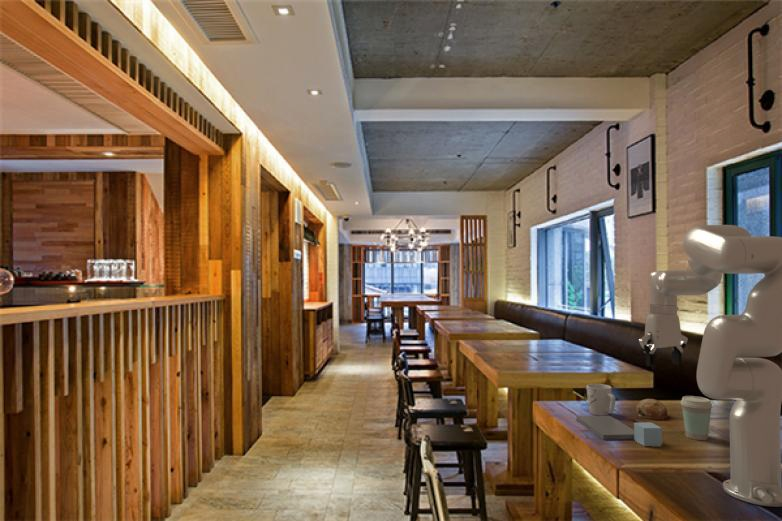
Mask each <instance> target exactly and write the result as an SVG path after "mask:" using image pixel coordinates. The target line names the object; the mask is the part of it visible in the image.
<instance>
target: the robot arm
mask: <svg viewBox="0 0 782 521" xmlns="http://www.w3.org/2000/svg"><path fill="white" fill-rule="evenodd" d="M682 244H683V250H684V252H685V253H686V255H687V263H688V265H689V268H690V269H689V270H688V269H687V270H686V269H684V270H683V269H678V270H676V269H673V270H672V269H671V270H670V269H669V270H654V271H651V272H650V273H649V275H648V276H649V279H648V281H649V282H648V284H649V314H647V316H646V320H645V325H644V326H645V327H644V336H642V337H640V338H639V339H638V342H639V345H640V348H641V349H642V350H643V353H644V354H645V365H646V367H647V366H648V367H651V368H655V367H656V354H655V352H656V350H657V349H658V348H659V349H661V348H671V349H672V351H671V364H673V365H675V366H682V365H683V364H682V354H683V353H684V349H685V348H686V346H687V343H688V340H689V339H688V337H687V336H685V335H683V334H682V329H681V328H682V327H681V322H680V321H681V320H680V318H679V314H678V311H679V306H678V296H692V297H693V296H703V295H705V294H708V293H710V292H711V291H713V290H714V289H715V288H717V287H718V286H719V285H720V284H721V281H722V278H723V274H732V275H733V274H734V275H736V274H738V275H743V274H745V275H746V274H757V275H758V274H763V275H764V276H763V278H761V279H760V280H759V281H758V282H757V283H755V285H754V286H753V287H752V289H751V290H750V292H749V293H748V296H747V298H746V305H745V308H744V311H743V312H742V313H741V314H721V315H717V316H715V317H713V318H711V319H710V320H709V322H708V323H707V324H706V326H705V328H704V331H703V335H702V341H701V344H700V349H699V350H700V352H699V357H698V360H697V361H698V362H697V367H696V382H697V387H698V389H699V391H700V392H701V393H702V394H703V395H704V396H706V397H708V399H709V398H710V399H713V400H728V401H729V400H733V401H734V400H735V402H734V403H733V405H732V407H731V409H730V412H729V462H730V466H729V467H730V478H729V479H727V480H726V479H725V480H724V481H723V483H722V489H723V491H724V492H725V493H727V494H728V495H729V496H731V497H733V498H735V499H737V500H739V501H743V502H746V503H748V504H749V503H750V504H753V505H757V506H763V507H771V508H772V507H773V508H775V507H776V508H778V507H782V458H781V456H782V455H781V453H782V452H781V408H782V407H781V406H782V368H781V367H780V366H779V365H778V364H777V363H775V362H774V361H771V360H769V359H765V358H767V357H776V356H777V355H780V354H781V353H782V237H781V236H769V235H767V236H765V235H763V236H762V235H758V236H752V235H751V233H750V232H749V231H748V229H745V228H744V227H742V226H738V225H734V224H701V225H696V226H693V227H691V228H690V229H689V230H688V231H687V232H686V234H685V235H684V238H683V242H682Z"/></svg>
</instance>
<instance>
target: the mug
mask: <svg viewBox="0 0 782 521" xmlns="http://www.w3.org/2000/svg"><path fill="white" fill-rule="evenodd" d="M586 395H587V403H588V408H589V412H590V414H592V415H593V416H609V414H613V413H614V412H615V407H616V396H615V395H614V394H613V393H612V386H611V385H608V384H603V383H589V384H588V383H587V384H586Z"/></svg>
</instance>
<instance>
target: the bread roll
mask: <svg viewBox="0 0 782 521" xmlns="http://www.w3.org/2000/svg"><path fill="white" fill-rule="evenodd" d="M635 408H636V415H637V416H638V417H640V418H644V419H648V420H652V421H662V420H666V419H667V418H668V409H667V407H666V406H665V405H664V404H663V403H662V402H661V401H659V400H657V399H654V398H646V399H642V400H640V401H639V402H638V403H637V405H636V407H635ZM665 418H666V419H665Z"/></svg>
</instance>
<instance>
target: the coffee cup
mask: <svg viewBox="0 0 782 521" xmlns="http://www.w3.org/2000/svg"><path fill="white" fill-rule="evenodd" d="M680 405H681V410H682V417H683V423H684V429H685V436H686V437H687V438H688V437H689V439H691V438H692V440H696V441H708V439H709V431H710V424H711V423H710V422H711V415H712V408H713V405H712V403H711V400H710V399H709V398H706V397H702V396H695V395H685V396H682V398H681V400H680Z"/></svg>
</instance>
